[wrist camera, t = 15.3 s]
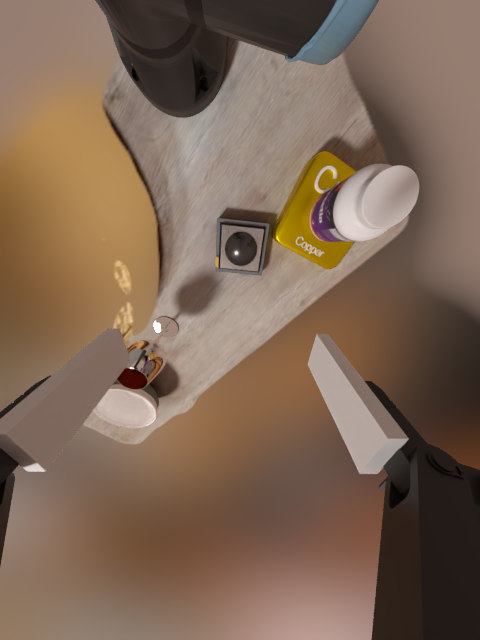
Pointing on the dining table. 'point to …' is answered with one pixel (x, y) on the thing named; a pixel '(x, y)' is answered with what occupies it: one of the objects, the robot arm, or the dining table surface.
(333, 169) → the element tile
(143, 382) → the wineglass
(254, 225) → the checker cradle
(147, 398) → the bowl
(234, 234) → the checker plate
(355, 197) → the pill bottle
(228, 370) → the dining table surface
